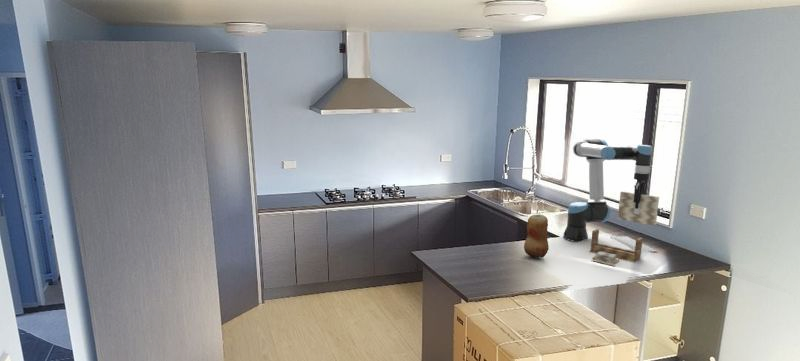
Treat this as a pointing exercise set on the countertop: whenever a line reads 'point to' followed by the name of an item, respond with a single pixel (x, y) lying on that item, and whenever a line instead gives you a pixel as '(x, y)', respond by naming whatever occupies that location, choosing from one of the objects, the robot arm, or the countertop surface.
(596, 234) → the oak rack
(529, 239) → the butternut squash
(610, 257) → the grey mdf offcut
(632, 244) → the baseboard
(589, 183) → the robot arm
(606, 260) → the grey textured block
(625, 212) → the patterned board
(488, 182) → the countertop surface
